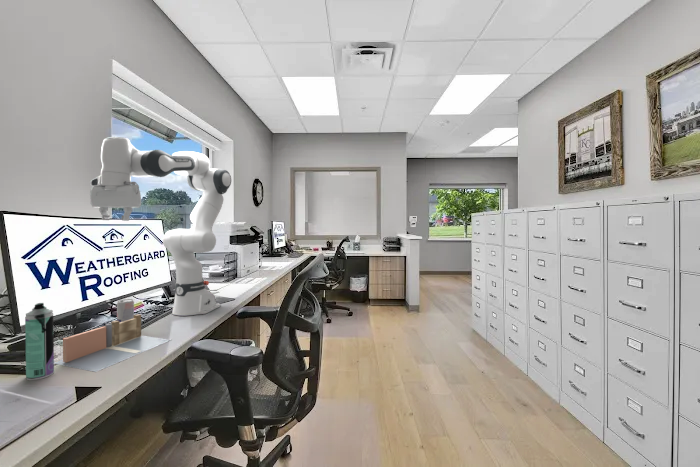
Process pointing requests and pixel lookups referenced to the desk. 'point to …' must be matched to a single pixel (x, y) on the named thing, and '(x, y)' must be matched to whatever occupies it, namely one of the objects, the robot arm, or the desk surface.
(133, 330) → the fixed fence section
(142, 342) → the card
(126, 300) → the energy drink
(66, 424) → the desk surface
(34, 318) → the spray can
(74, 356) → the hinged fence panel
